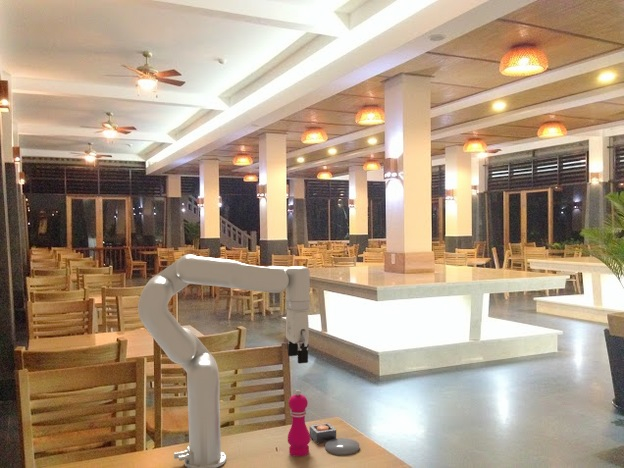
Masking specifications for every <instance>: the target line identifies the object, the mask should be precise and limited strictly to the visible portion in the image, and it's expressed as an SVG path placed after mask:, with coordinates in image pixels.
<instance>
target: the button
mask: <svg viewBox="0 0 624 468" xmlns="http://www.w3.org/2000/svg"><path fill="white" fill-rule="evenodd" d="M325 430H329V427H328V426H325V425H321V426H318V427H317V431H325Z"/></svg>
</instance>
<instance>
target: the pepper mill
mask: <svg viewBox="0 0 624 468" xmlns="http://www.w3.org/2000/svg"><path fill="white" fill-rule="evenodd" d="M294 393H295V394H293V395H291V396H290V398H289V400H288V406H289V409H290V416H291V418H292V419H291V420H292V421H291V425H290V428H289V431H288V434H287V443H288V444H289V447H288V448H289V450H288V452H289V454H290V456H293V457H305V456H306V455H308V454H309V453H310V449H309V448H310V447H309V443H310V441H311V437H310V430H309V429H308V428H307V425H306V420H305V417H306V415H307V409H306V408H308V402H309V401H308V399H307V397H306V395H304V394H302V393H301V390H300V389H296V390H295V391H294Z"/></svg>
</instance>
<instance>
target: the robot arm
mask: <svg viewBox="0 0 624 468" xmlns="http://www.w3.org/2000/svg"><path fill="white" fill-rule="evenodd" d="M310 275H311V274H310V268H309V267H307V266H302V265H301V266H299V265H296V266H289V267H288V266H279V265H268V266H267V267H266V266H259V265H252V264H246V263H242V262H239V261H237V260H232V259H227V258H226V259H225V258H215V257H205V256H197V255H195V254H191V253H189V254H184V255H182V256H181V257H179V258H178V259H176V261H174V262H173V263H171V264H170V265H169V266H167V267H166V268H164V269H162V270H161V271H160V272H159V273H157V274H155V275H154V276H153V277H152V278H150V279H149V280H148V282H146V284H145V286H144V287H143V289H142V291H141V294H140V296H139V299H138V303H137V313H138V317H139V319H140V322H141V323H142V324H141V325H143V326H144V328H145V329H146V330H147V332H148V333H149V334H150V336H151V337H152V338H153V339H154V341H155V342H156V343H157V345H158V346H159V347H160V348H161V350H162V351H163V352H164V353H165V355H166V356H167V358H168V359H169V360H170V361H171V362H172V363H175V364H177V365H180V367H181V368H182V369H183V370H184V371H185V372H186V386H187V391H186V392H187V415H188V440H189V441H188V446H187V447H186V449H184V450H183V451H175V452H173V459H174V460H177V459H178V461H179V462H180V461H184V463H183V464H184V466H185V467H186V468H220V467H221V466H222V465H224V464H225V463H226V461H227V456H226V454H225V452H223V451H222V449H221V447H222V446H221V445H222V443H221V437H222V436H221V411H220V410H221V409H220V377H221V376H220V371H219V367H218V364H217V361H216V358H215V357H214V356H213V355H212V353H211V352H210V351H209V349H208V348H207V347H206V346H205V345H204V344H203V342H202V341H201V340H200V339H199V338H198V337H197V335H196V334H195V333H194V332H193V331H192V330H191V329H189V328H187V327H183V326H182V325H181V323H180V322H178V321H179V320H177V318H176V317H175V316H174V315H173V314H172V313H171V311H170V310H169V307H168V306H169V302H170V301H171V299H172V297H173V296H175V295H176V294H177V293H179V292H180V291H182V290H183V289H185V288H186V287H187V286H189V285H200V286H212V287H221V288H229V289H234V290H235V289H236V290H245V291H251V292H252V291H253V292H260V293H261V292H262V293H272V294H273V293H274V294H277V293H278V294H279V293H281V292H283V291H285V311H286V316H285V338H286V340H287V355H288V357H296V356H297V363H298V364H300V365H301V364H308V362H309V341H310V338H309V337H310V332H309V331H310V329H309V327H310V325H309V314H308V313H309V311H310V310H311V306H310V301H311V300H310V299H311V297H310V296H311V295H310V287H311V285H310V282H311V281H310V278H311V276H310Z"/></svg>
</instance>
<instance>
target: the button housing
mask: <svg viewBox="0 0 624 468" xmlns="http://www.w3.org/2000/svg"><path fill="white" fill-rule="evenodd" d="M321 425H325V426H328V427H329V430H325V431H317V427H318V426H321ZM309 434H310V439H312V440H313V441H314V442H315V443H316V444H323V443H327V442H328V441H330V440H332V439H337V429H336V428H335V427H334V426H333V425H332V424H330V423H329V422H326V423H325V422H324V423H319V424H313V425H309Z"/></svg>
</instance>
